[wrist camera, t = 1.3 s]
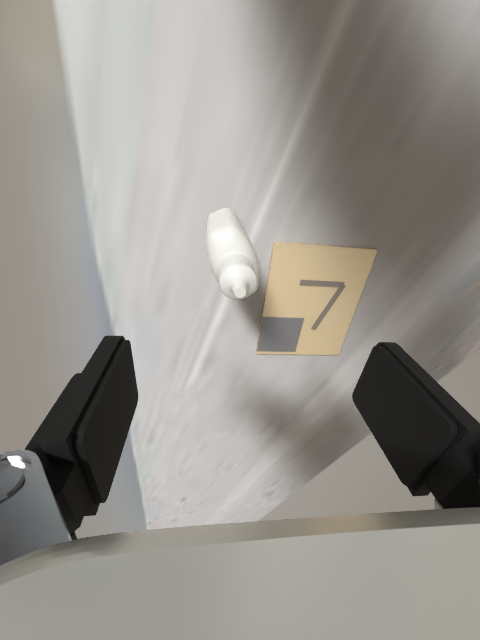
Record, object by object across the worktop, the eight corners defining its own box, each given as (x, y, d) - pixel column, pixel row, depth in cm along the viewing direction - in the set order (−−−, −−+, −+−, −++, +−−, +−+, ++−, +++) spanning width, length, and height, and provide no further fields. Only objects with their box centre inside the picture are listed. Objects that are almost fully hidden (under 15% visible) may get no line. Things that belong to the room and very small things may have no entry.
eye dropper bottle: (203, 263, 26) (198, 329, 16) (209, 203, 23) (207, 238, 13) (245, 268, 27) (266, 335, 17) (256, 211, 24) (289, 250, 14)
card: (273, 241, 25) (274, 242, 25) (376, 249, 27) (378, 250, 27) (255, 352, 33) (256, 354, 32) (337, 353, 34) (338, 355, 34)
